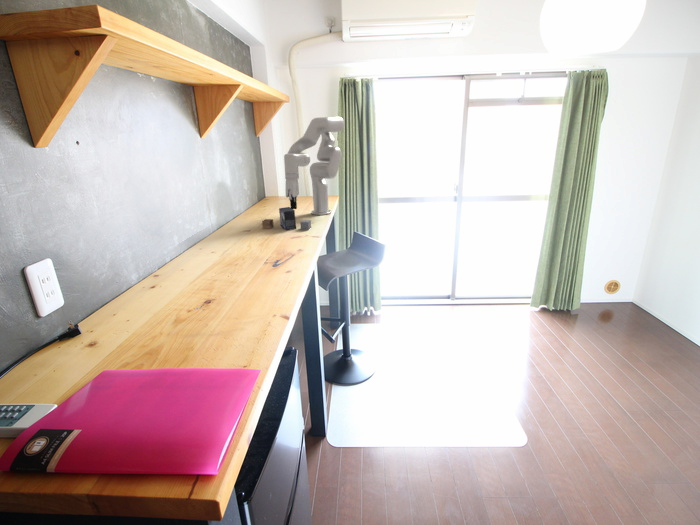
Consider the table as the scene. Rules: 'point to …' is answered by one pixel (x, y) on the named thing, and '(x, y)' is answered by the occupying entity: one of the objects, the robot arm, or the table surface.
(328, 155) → the robot arm
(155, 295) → the table surface
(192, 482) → the table surface
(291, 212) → the small box
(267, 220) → the walnut block
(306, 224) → the charcoal block
